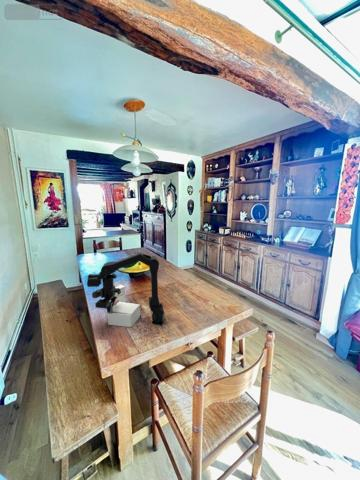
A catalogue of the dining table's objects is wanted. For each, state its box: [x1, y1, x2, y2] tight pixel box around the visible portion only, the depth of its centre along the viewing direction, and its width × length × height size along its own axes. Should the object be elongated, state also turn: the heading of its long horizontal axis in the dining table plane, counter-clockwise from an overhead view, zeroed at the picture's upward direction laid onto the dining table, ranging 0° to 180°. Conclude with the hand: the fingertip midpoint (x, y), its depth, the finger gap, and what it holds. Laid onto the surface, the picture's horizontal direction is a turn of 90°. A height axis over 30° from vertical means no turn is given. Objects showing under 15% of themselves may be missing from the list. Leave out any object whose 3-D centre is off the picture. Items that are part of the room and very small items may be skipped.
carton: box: [113, 301, 141, 328], centre depth 122 cm, size 14×11×8 cm
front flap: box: [106, 305, 132, 328], centre depth 115 cm, size 14×1×12 cm, turn 80°
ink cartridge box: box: [113, 280, 126, 306], centre depth 141 cm, size 9×5×15 cm, turn 141°
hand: (109, 311), depth 115 cm, fingers closed
